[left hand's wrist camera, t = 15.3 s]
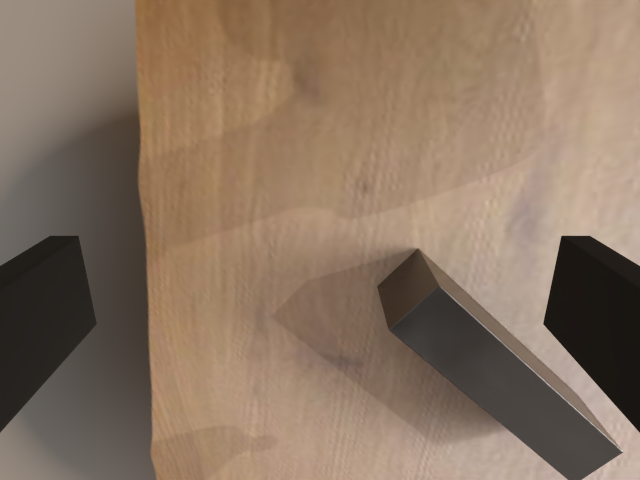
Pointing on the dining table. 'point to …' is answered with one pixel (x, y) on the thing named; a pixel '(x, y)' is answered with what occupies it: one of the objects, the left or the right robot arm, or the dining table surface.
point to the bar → (493, 367)
